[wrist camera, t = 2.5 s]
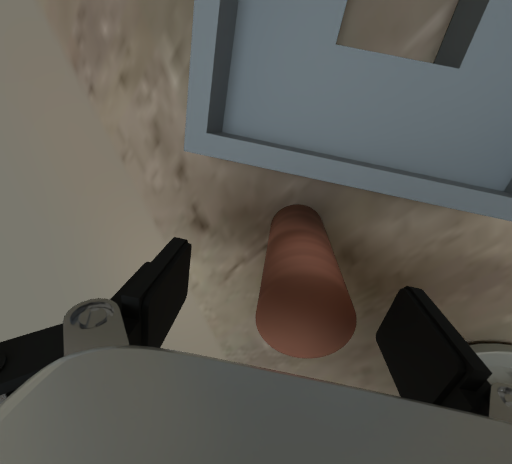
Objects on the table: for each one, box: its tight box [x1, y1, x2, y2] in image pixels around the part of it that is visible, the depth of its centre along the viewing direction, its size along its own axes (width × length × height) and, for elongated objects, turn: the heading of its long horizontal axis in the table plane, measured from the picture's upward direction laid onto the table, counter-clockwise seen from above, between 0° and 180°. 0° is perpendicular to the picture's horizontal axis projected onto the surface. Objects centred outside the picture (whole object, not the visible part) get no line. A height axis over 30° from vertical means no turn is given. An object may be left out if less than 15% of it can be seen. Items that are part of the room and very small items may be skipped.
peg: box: [256, 205, 356, 358], centre depth 15 cm, size 4×4×10 cm
